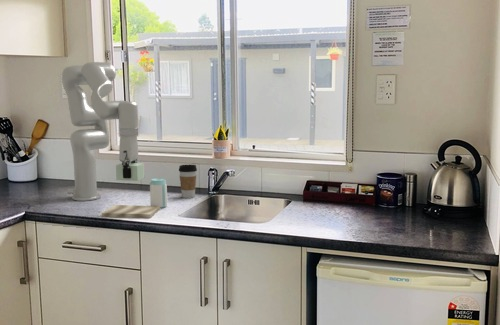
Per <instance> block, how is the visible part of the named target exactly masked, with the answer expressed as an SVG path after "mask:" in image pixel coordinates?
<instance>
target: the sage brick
mask: <svg viewBox="0 0 500 325" xmlns="http://www.w3.org/2000/svg"><path fill="white" fill-rule="evenodd" d="M127 164H128V163H127ZM122 166H123V165H122V162H121V163H118V164H116V165H115V171H116V172H115V173H116V179H115V180H116V181H128V182H131V181H135V182H138V181H140V180H143V179H144V178H145V163H144V162H137V163H130V168H131V178H123V168H122Z"/></svg>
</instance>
